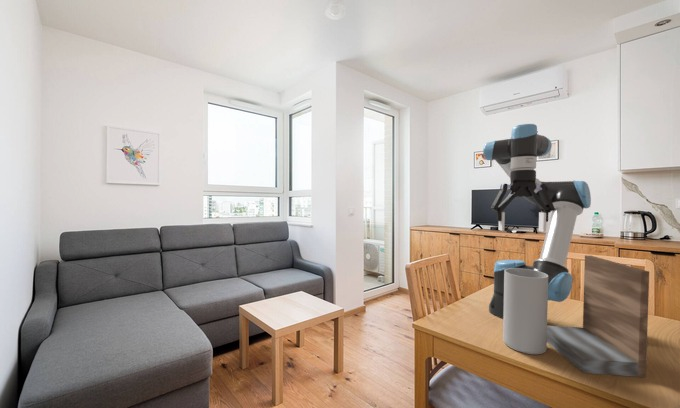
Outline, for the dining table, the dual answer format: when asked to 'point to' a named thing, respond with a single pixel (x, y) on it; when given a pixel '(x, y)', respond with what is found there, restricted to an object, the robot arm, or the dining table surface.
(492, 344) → the dining table surface
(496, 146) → the robot arm
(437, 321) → the dining table surface
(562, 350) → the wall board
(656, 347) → the dining table surface
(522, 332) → the cylinder vase
